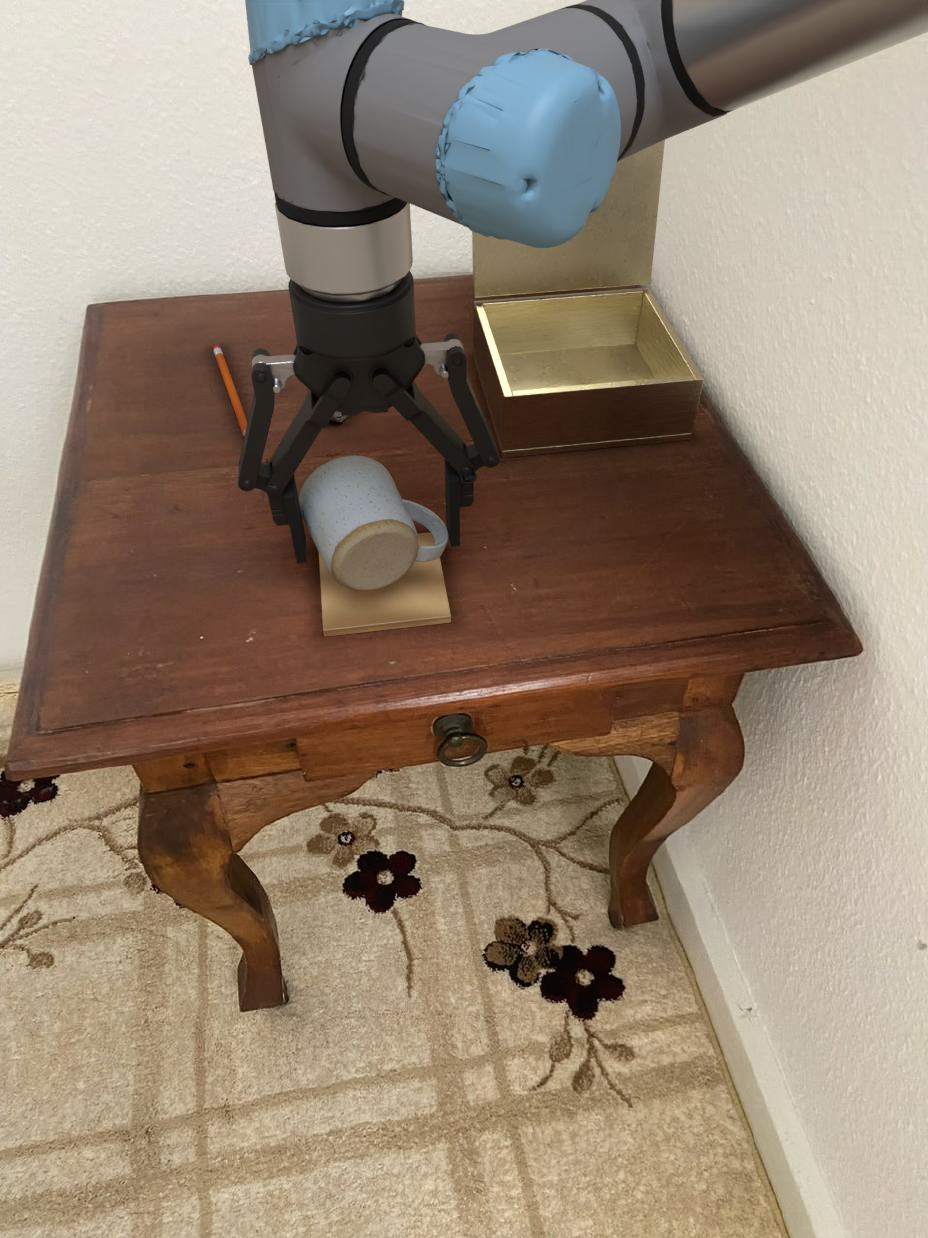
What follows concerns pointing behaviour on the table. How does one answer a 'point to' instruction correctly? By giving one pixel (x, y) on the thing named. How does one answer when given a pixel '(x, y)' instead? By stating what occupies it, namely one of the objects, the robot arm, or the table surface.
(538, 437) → the open metal box
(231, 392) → the pencil
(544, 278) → the box lid
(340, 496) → the ceramic mug
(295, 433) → the robot arm
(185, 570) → the table surface
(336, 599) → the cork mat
